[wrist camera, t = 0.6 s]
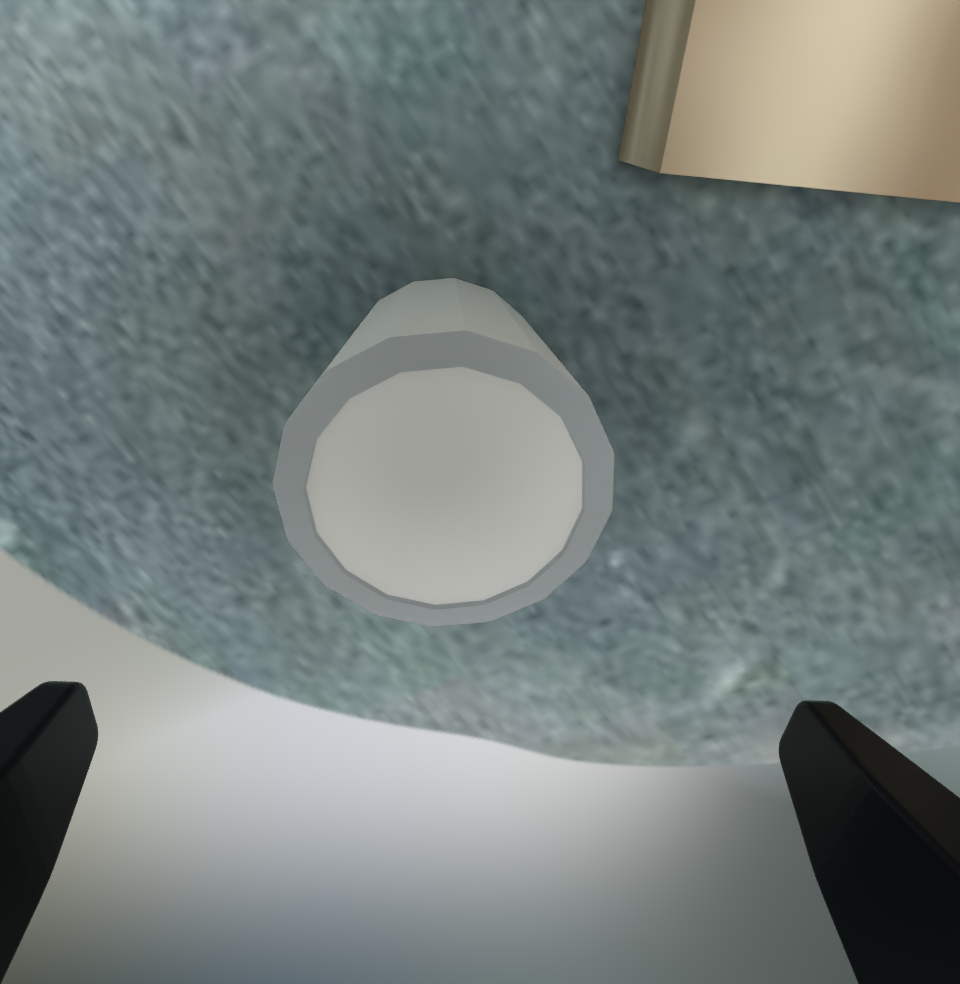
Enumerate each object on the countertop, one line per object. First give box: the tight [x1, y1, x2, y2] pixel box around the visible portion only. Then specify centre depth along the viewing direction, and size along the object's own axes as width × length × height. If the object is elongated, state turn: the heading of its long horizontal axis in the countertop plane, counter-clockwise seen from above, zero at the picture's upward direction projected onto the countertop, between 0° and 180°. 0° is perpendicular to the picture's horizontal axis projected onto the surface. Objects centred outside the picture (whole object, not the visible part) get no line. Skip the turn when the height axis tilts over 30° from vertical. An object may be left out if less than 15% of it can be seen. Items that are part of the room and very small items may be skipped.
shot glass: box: [272, 278, 614, 627], centre depth 16 cm, size 7×7×7 cm
